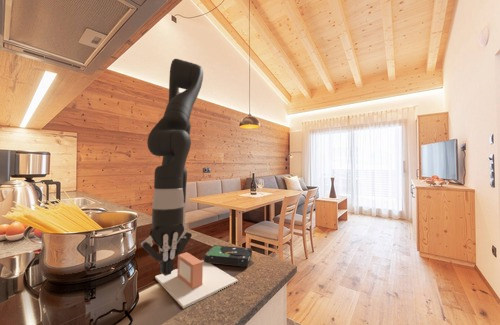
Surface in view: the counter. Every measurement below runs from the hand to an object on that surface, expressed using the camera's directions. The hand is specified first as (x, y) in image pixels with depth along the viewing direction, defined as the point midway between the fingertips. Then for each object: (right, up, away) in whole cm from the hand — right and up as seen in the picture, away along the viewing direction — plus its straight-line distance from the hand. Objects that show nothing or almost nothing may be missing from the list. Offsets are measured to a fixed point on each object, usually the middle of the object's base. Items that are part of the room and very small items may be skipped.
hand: (166, 273), depth 52 cm
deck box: (+5, -4, +4) cm, 7 cm away
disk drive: (+14, -5, +19) cm, 24 cm away
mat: (+6, -5, +5) cm, 9 cm away
